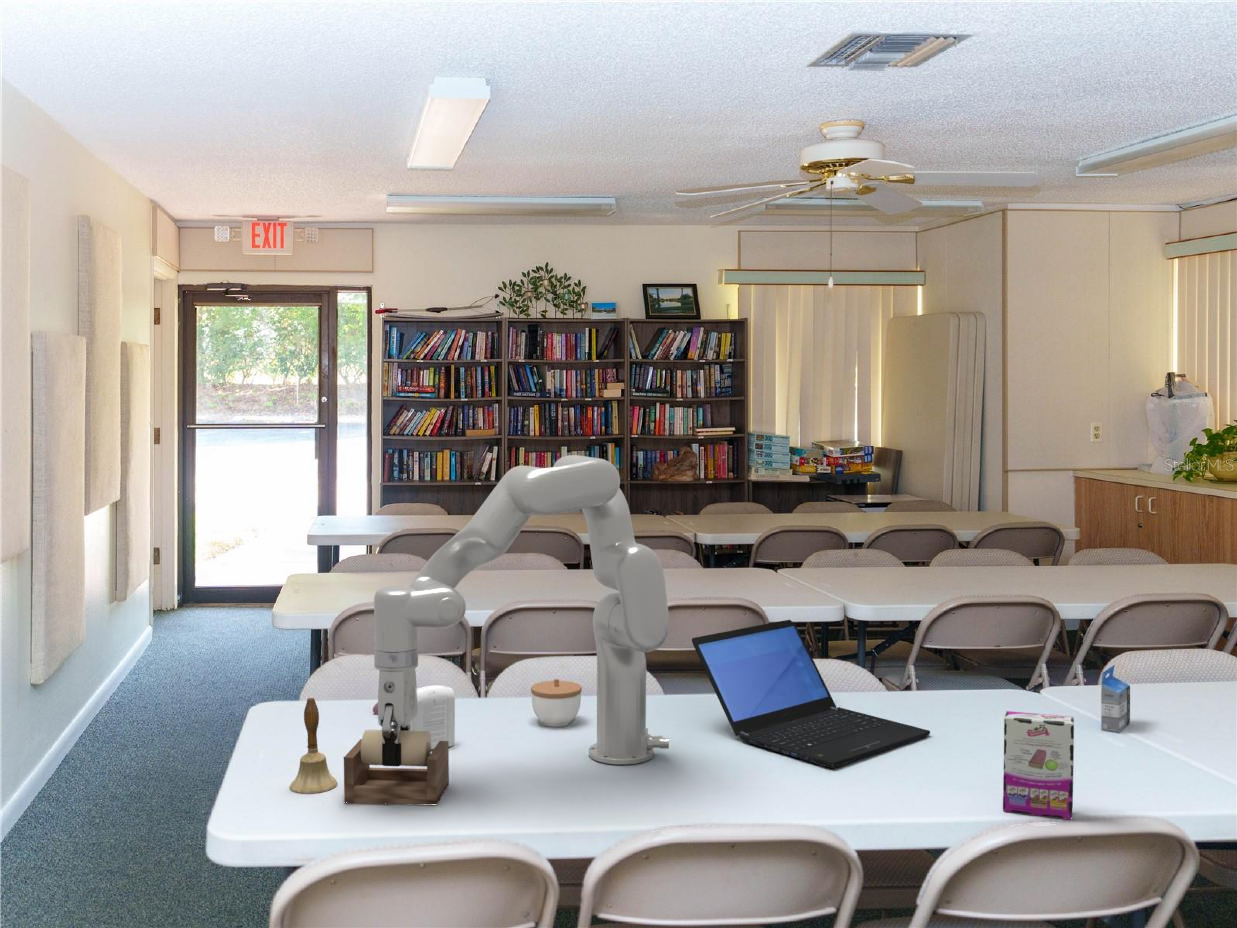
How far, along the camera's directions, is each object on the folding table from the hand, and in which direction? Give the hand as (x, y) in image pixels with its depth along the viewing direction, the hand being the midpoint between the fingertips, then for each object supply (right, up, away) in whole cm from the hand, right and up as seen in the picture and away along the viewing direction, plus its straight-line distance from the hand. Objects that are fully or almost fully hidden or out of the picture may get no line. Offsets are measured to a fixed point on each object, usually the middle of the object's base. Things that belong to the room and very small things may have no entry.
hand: (396, 758), depth 206 cm
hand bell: (-16, -6, +4) cm, 17 cm away
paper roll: (0, -1, 0) cm, 1 cm away
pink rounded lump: (-12, -3, +54) cm, 55 cm away
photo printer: (+2, -5, +26) cm, 27 cm away
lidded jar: (+26, -4, +44) cm, 51 cm away
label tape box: (+144, -4, +42) cm, 150 cm away
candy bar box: (+110, -7, -7) cm, 110 cm away
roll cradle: (0, -6, +1) cm, 6 cm away
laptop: (+79, -5, +38) cm, 87 cm away
